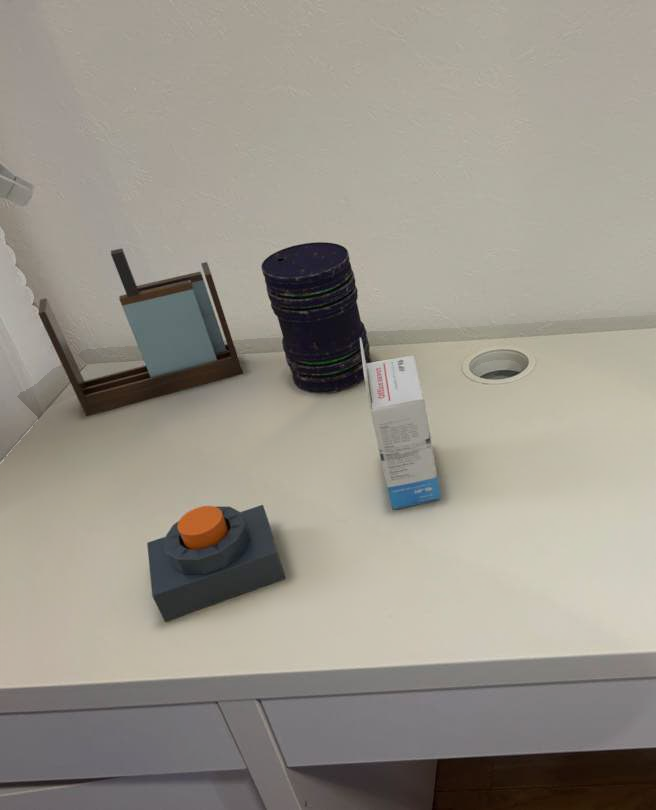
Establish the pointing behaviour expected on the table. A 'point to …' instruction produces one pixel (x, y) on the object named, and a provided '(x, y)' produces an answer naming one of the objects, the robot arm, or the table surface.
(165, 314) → the window pane
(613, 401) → the table surface
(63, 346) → the window frame
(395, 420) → the ink box
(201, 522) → the release button
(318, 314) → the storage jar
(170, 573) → the button block
